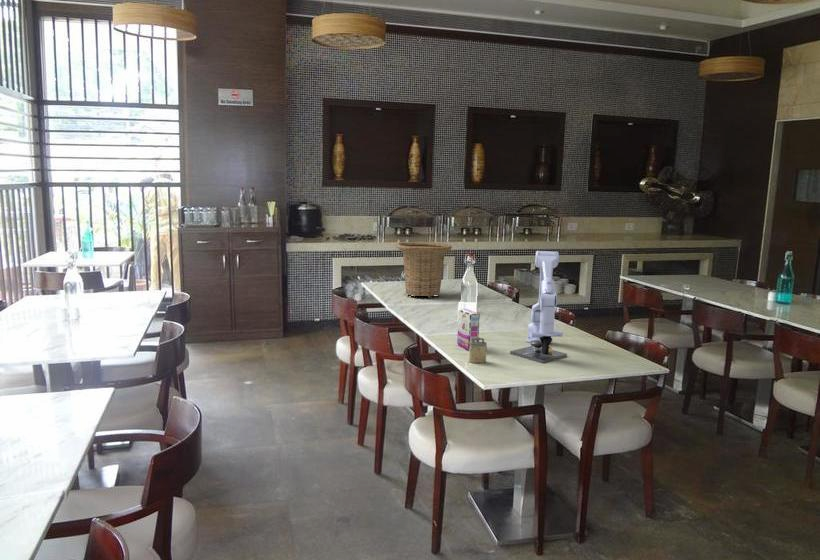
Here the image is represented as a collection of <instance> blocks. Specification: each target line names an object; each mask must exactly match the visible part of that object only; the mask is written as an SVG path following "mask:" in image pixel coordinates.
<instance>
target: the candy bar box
mask: <svg viewBox="0 0 820 560" xmlns="http://www.w3.org/2000/svg"><path fill="white" fill-rule="evenodd" d="M480 317H481V316H480V313H479V312H476V311H474V310H473V311H472V309H469V308H463V309H458V321H457V340H456V341H457V343H456V344H458V345H460V346H461V347H460V346H459V347H460V348H462V347H463V348H462V349H464V348H465V350H466V351H468V352H469V350H470V342H472V338H477V337H479V335H480V334H479V333H480ZM479 338H480V337H479ZM474 342H477V340H475V341H474ZM458 345H457V346H458Z"/></svg>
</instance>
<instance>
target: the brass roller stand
mask: <svg viewBox="0 0 820 560" xmlns="http://www.w3.org/2000/svg"><path fill="white" fill-rule="evenodd" d="M530 346H534V347H542V342H541V341H539V340H533V341H531V342H530ZM552 350H553V345H549V348H548V354H546V355H552Z"/></svg>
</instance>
